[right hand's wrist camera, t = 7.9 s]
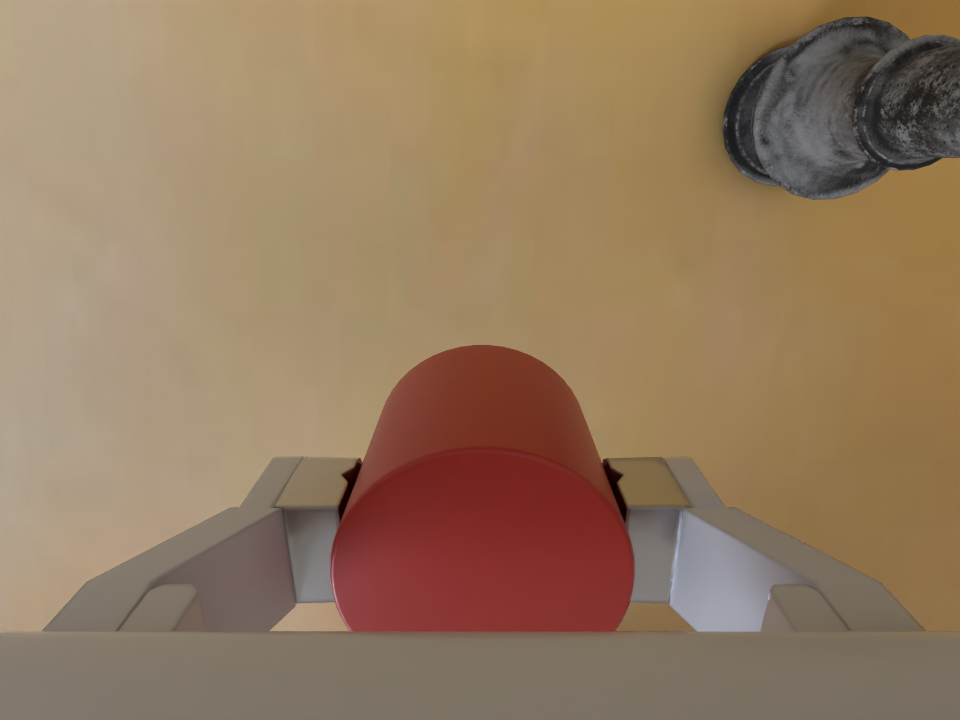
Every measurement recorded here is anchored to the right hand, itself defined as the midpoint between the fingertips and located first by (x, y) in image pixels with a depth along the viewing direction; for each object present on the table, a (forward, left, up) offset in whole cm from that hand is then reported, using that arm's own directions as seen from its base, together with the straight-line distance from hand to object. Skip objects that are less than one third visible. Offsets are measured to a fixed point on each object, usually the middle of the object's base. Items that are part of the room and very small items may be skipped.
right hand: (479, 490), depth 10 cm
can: (0, 0, -2) cm, 2 cm away
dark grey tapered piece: (+14, 0, -17) cm, 22 cm away
